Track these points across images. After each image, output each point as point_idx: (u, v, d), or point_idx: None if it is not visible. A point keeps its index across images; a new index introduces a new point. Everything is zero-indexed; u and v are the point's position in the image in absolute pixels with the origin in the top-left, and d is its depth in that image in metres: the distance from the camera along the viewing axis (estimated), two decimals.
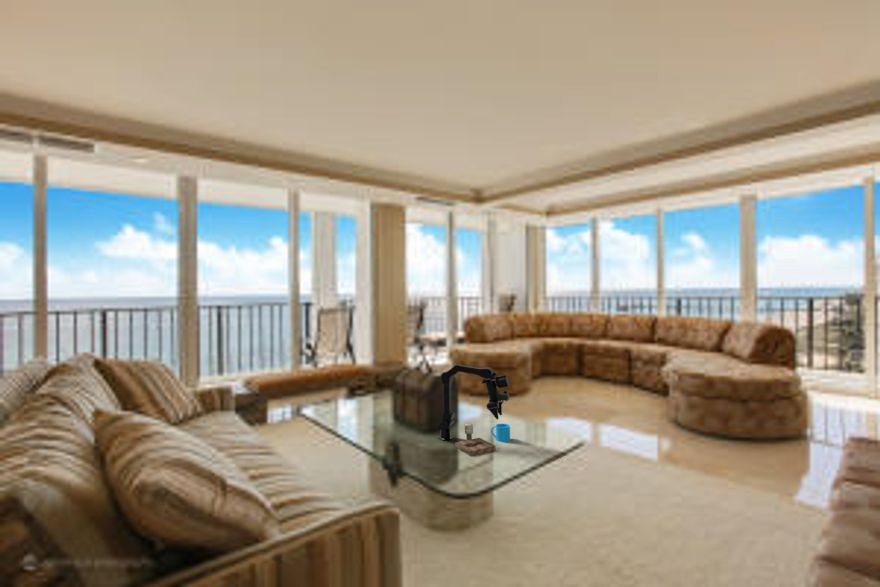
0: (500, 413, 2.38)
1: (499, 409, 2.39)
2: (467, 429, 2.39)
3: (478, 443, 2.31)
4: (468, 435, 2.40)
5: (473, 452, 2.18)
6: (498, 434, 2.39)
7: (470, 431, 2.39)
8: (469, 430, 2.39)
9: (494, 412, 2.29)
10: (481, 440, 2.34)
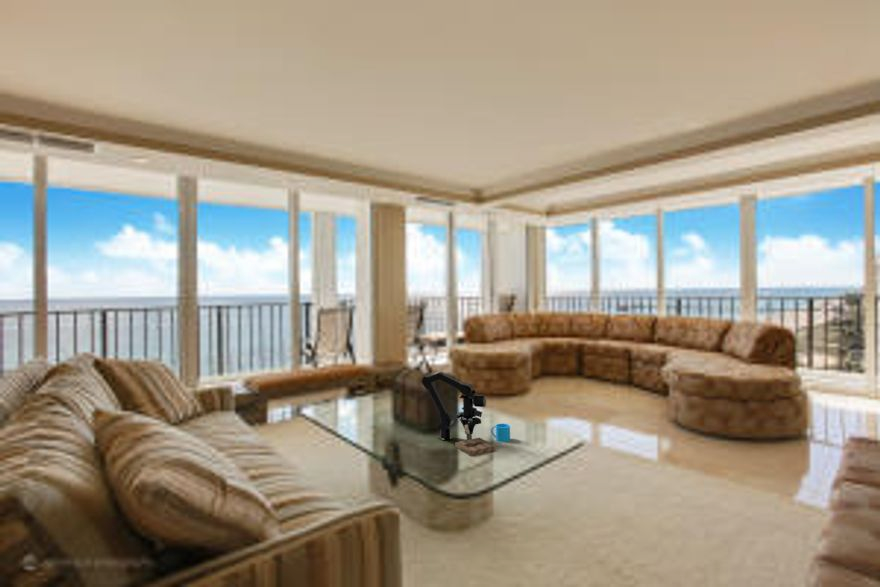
0: None
1: None
2: (467, 429, 2.39)
3: (478, 443, 2.31)
4: (468, 435, 2.40)
5: (473, 452, 2.18)
6: (498, 434, 2.39)
7: None
8: None
9: (471, 427, 2.38)
10: (481, 440, 2.34)
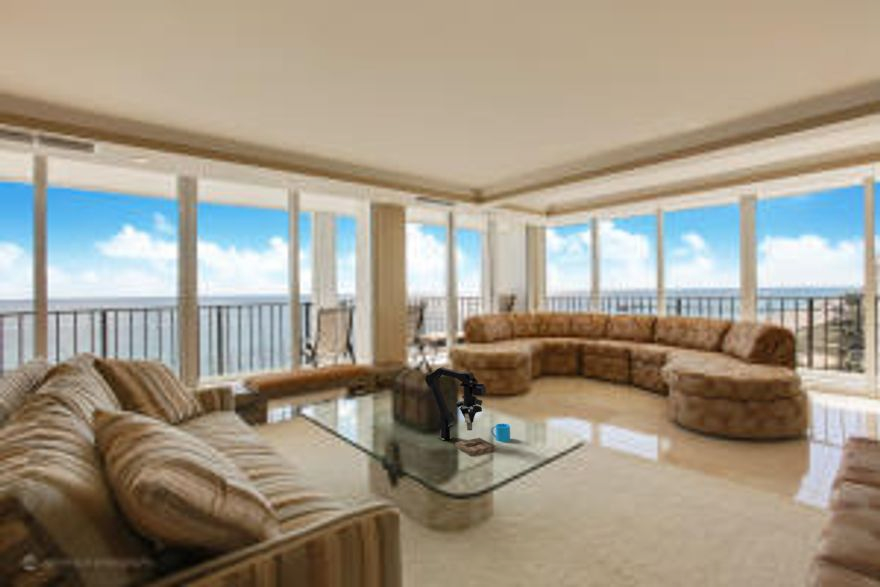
0: None
1: None
2: (467, 418, 2.36)
3: (478, 443, 2.31)
4: (469, 423, 2.36)
5: (473, 452, 2.18)
6: (498, 434, 2.39)
7: None
8: None
9: (472, 416, 2.34)
10: (481, 440, 2.34)
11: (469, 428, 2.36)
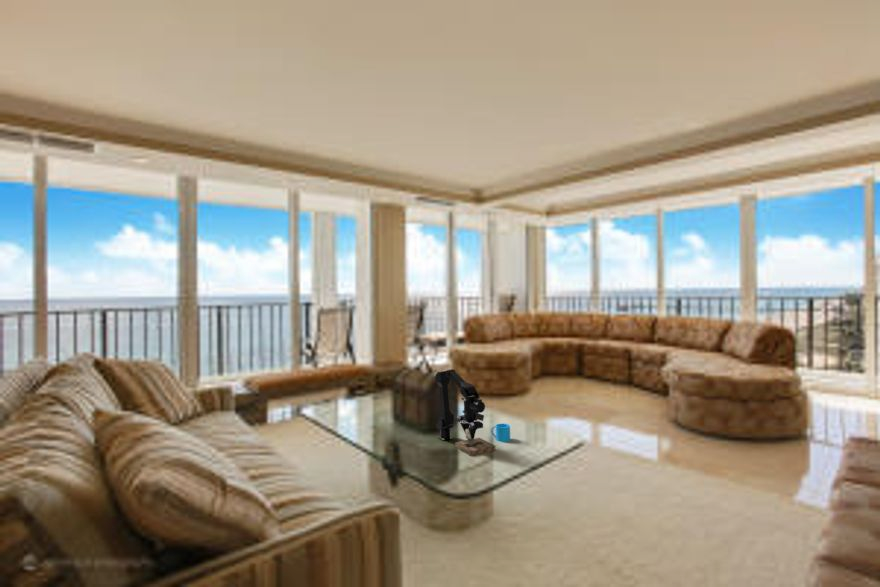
0: None
1: None
2: (468, 433, 2.25)
3: (478, 443, 2.31)
4: (469, 440, 2.25)
5: (473, 452, 2.18)
6: (498, 434, 2.39)
7: None
8: None
9: (472, 432, 2.23)
10: (481, 440, 2.34)
11: (470, 444, 2.25)
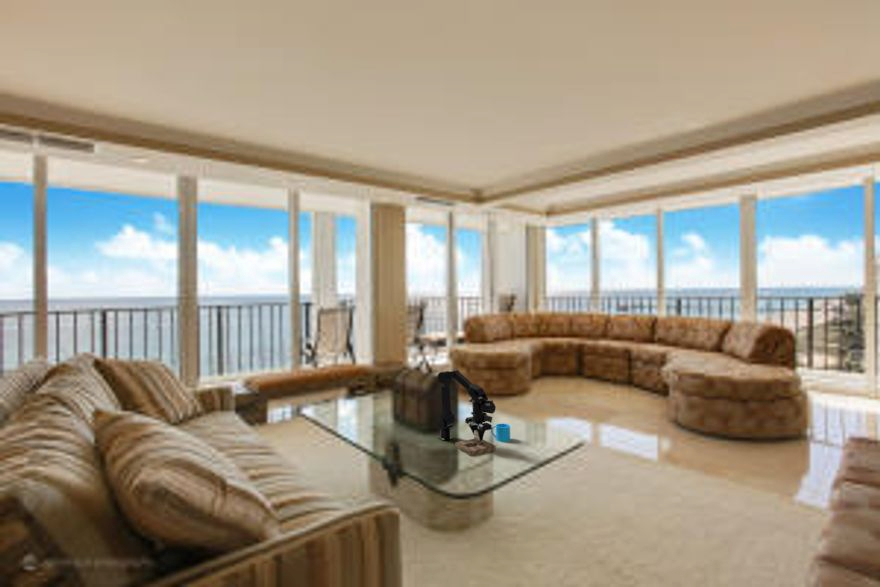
0: None
1: None
2: (477, 435, 2.27)
3: None
4: (478, 441, 2.28)
5: (473, 452, 2.18)
6: (498, 434, 2.39)
7: None
8: None
9: (481, 433, 2.26)
10: None
11: None
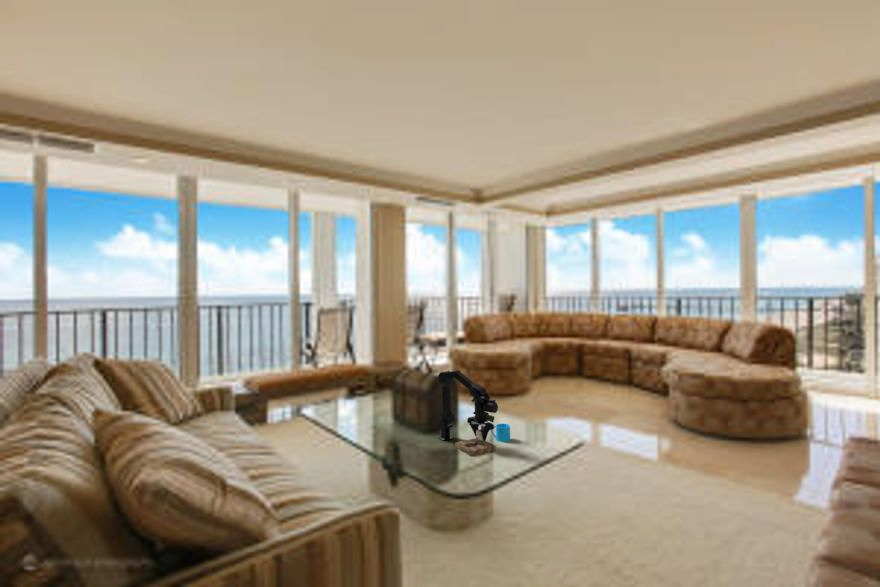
0: None
1: None
2: (479, 435, 2.28)
3: None
4: (479, 441, 2.28)
5: (473, 452, 2.18)
6: (498, 434, 2.39)
7: (482, 437, 2.27)
8: (481, 436, 2.27)
9: (484, 433, 2.25)
10: None
11: None
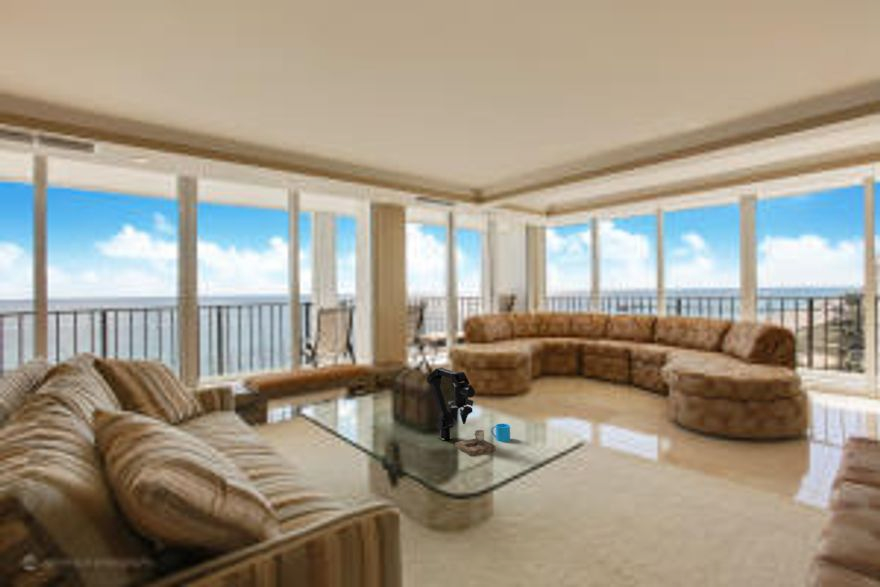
0: (455, 418, 2.39)
1: (455, 414, 2.40)
2: (478, 435, 2.28)
3: None
4: (479, 441, 2.28)
5: (473, 452, 2.18)
6: (498, 434, 2.39)
7: (481, 437, 2.28)
8: (480, 436, 2.27)
9: (464, 417, 2.30)
10: None
11: None
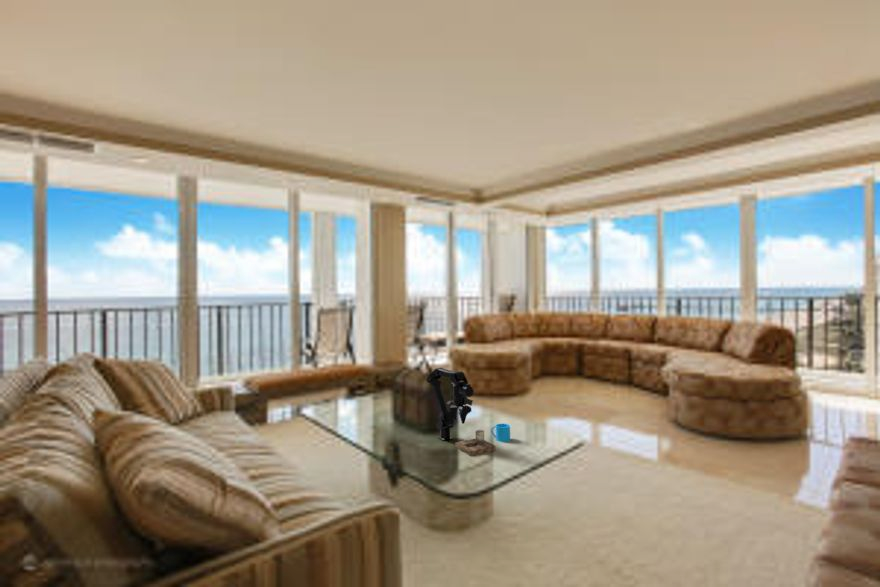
0: (455, 418, 2.39)
1: (455, 414, 2.40)
2: (478, 435, 2.27)
3: None
4: (479, 441, 2.28)
5: (473, 452, 2.18)
6: (498, 434, 2.39)
7: (481, 437, 2.27)
8: (480, 436, 2.27)
9: (463, 416, 2.30)
10: None
11: None
